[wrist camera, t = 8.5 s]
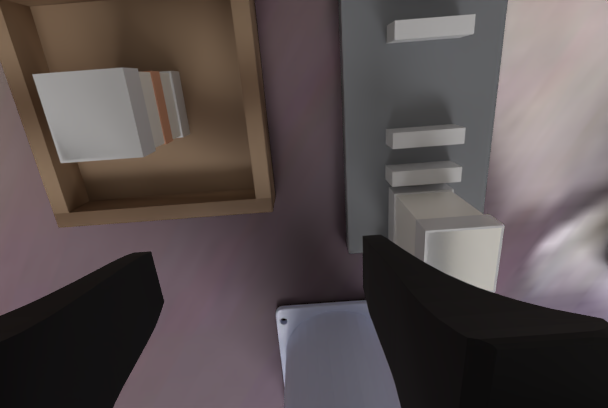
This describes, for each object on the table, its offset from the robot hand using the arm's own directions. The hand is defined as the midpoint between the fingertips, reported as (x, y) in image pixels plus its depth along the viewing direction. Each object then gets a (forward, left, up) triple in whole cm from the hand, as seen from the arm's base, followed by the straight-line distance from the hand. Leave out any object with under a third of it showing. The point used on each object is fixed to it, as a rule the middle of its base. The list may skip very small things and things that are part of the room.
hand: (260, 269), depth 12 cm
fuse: (-2, -8, -8) cm, 12 cm away
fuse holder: (+5, -8, -9) cm, 13 cm away
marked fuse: (+5, +6, -9) cm, 12 cm away
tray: (+5, +6, -9) cm, 12 cm away
